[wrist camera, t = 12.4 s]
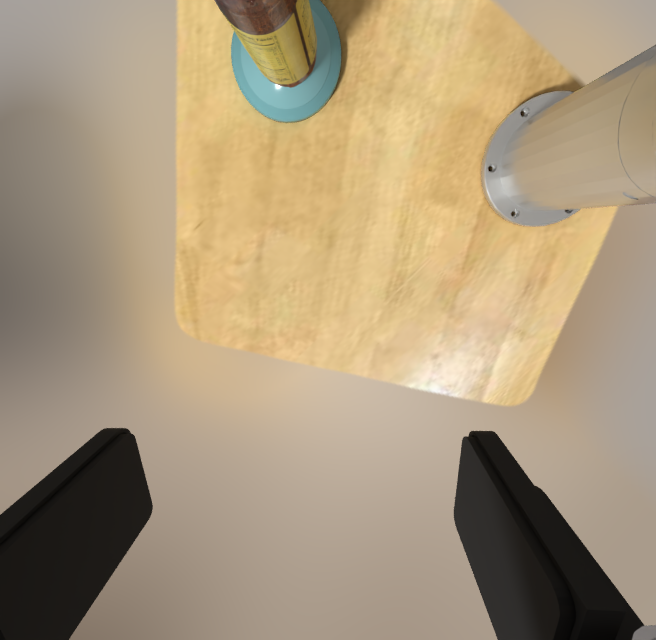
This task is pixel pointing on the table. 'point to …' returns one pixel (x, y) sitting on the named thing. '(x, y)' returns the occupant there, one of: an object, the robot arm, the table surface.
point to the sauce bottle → (275, 36)
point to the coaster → (304, 96)
